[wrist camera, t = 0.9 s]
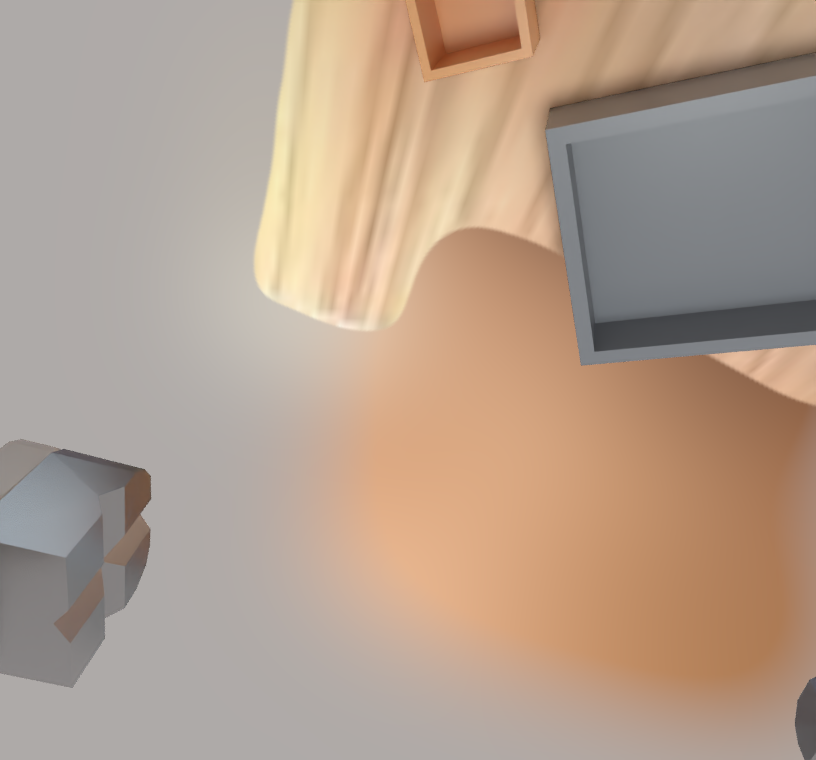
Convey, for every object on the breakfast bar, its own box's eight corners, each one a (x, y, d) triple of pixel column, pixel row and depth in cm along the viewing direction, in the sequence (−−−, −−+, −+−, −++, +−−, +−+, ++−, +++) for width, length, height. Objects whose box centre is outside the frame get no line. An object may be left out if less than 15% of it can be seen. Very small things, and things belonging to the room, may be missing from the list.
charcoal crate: (940, 26, 36) (977, 42, 32) (904, 297, 44) (930, 334, 41) (550, 108, 42) (545, 130, 39) (582, 331, 51) (581, 365, 47)
